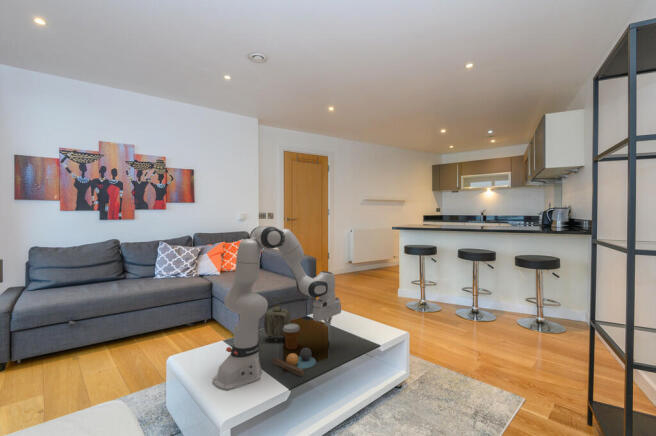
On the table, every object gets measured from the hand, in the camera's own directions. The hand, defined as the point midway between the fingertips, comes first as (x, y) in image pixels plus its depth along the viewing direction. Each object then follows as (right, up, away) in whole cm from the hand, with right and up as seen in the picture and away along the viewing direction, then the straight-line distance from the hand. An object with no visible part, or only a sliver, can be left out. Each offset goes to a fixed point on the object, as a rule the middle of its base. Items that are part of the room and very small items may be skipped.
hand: (327, 325), depth 174 cm
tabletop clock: (-30, -14, +14) cm, 36 cm away
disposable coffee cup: (-21, -14, +4) cm, 25 cm away
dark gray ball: (-11, -11, -12) cm, 20 cm away
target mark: (-13, -14, -15) cm, 24 cm away
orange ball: (-18, -11, -18) cm, 28 cm away
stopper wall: (-19, -14, -22) cm, 32 cm away
